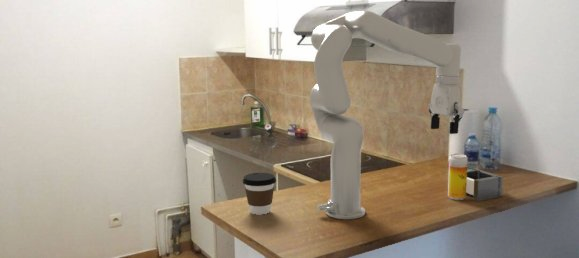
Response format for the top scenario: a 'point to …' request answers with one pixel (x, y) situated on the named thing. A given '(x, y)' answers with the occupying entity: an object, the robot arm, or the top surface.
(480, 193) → the gauge frame
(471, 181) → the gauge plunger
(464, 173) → the beer can
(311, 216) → the top surface
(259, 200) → the coffee cup
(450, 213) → the top surface
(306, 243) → the top surface
